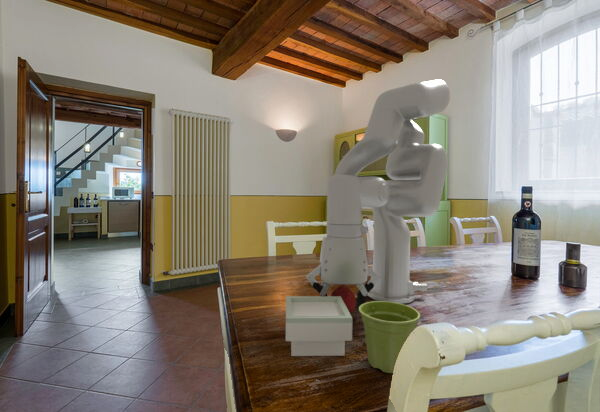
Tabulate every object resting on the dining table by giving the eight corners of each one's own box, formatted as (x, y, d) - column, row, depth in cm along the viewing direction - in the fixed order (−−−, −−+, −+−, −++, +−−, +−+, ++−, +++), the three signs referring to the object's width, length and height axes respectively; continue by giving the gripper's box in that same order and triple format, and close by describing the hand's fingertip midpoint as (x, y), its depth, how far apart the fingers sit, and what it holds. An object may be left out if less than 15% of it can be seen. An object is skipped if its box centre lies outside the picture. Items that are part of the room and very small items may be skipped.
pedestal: (340, 329, 61) (340, 296, 61) (351, 358, 50) (352, 318, 50) (285, 329, 60) (286, 296, 60) (285, 359, 49) (285, 318, 49)
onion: (355, 325, 63) (356, 287, 63) (327, 322, 64) (328, 285, 64) (355, 314, 69) (356, 280, 68) (330, 312, 70) (331, 278, 70)
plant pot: (351, 349, 53) (352, 300, 53) (403, 348, 54) (404, 299, 53) (367, 382, 43) (369, 322, 43) (430, 379, 44) (431, 321, 44)
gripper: (377, 230, 70) (376, 306, 70) (303, 229, 69) (302, 306, 70) (388, 234, 62) (387, 318, 63) (305, 233, 62) (304, 319, 62)
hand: (342, 311), depth 66 cm, fingers open, 7 cm apart
